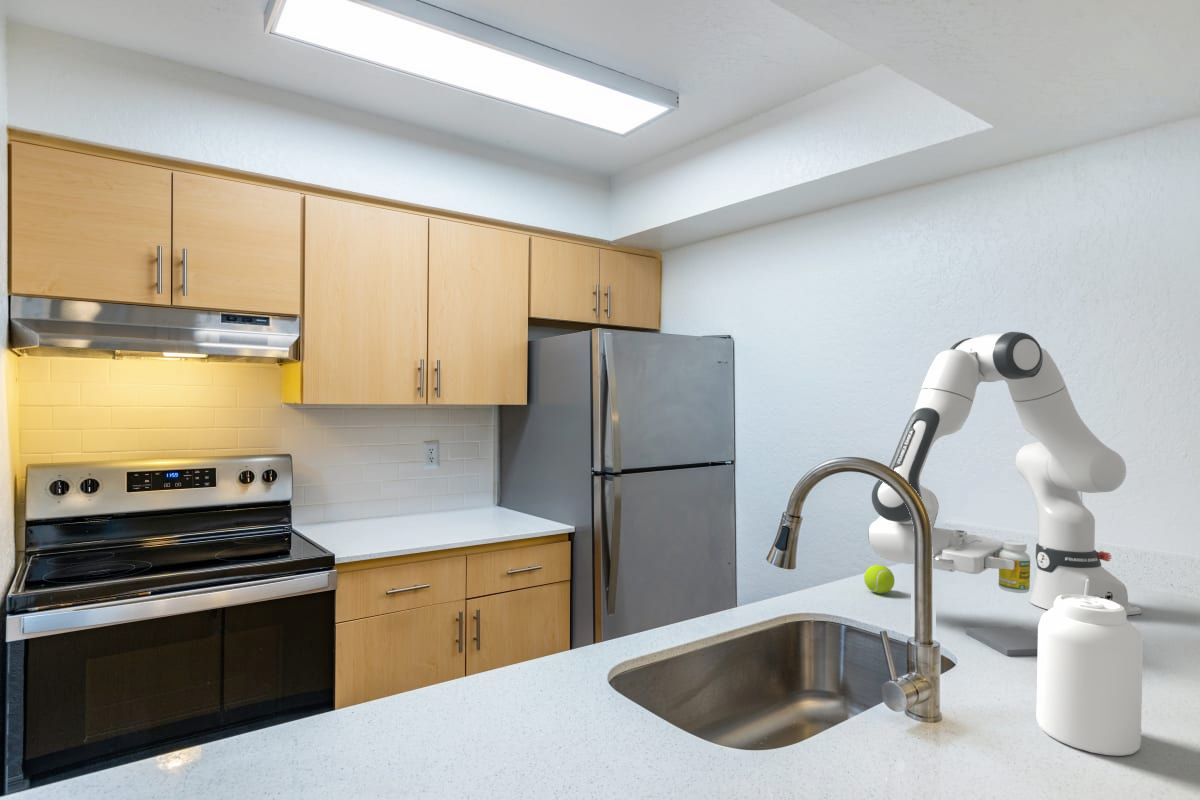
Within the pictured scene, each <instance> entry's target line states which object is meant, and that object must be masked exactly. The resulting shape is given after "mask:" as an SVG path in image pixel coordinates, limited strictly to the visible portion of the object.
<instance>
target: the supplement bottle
mask: <svg viewBox="0 0 1200 800" xmlns="http://www.w3.org/2000/svg"><path fill="white" fill-rule="evenodd" d="M1002 542H1003V547H1004V549H1005V550H1003V551H1001V552H1000V554H999V558H1001V559H1012V560H1015V561H1016V568H1015V569H1013V570H1009V569H998V587H999V589H1001V590H1003V591H1005V592H1011V593H1014V594H1015V593H1016V594H1026V593H1028V592H1029V591H1030V589H1031V587H1030V584H1031V582H1030V581H1031V580H1030V579H1031V578H1030V577H1031V557H1030V555H1029V554H1028V553H1027V552H1026V551H1027V550H1028V548H1027V543H1026V542H1024V541H1019V540H1013V539H1012V540H1011V539H1009V540H1003V541H1002Z"/></svg>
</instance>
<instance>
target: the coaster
mask: <svg viewBox="0 0 1200 800" xmlns="http://www.w3.org/2000/svg"><path fill="white" fill-rule="evenodd" d="M965 628H966V629H965V634H966V635H968V636H969V637H972V638H973V639H975V640H977V641H979V642H980V643H983V644H984V645H986V646H988V647H990V648H991V649H993V650H995V651H997V652H999V653H1001V654H1002V655H1005V656H1006V657H1015V656H1019V657H1020V656H1037V655H1038V634H1036V633H1034V632H1032V631H1029V630H1028V629H1025V628H1024V627H1022V626H1019V625H1015V626H989V627H988V626H987V627H985V626H984V627H982V626H981V627H965Z"/></svg>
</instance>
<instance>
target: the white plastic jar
mask: <svg viewBox="0 0 1200 800" xmlns="http://www.w3.org/2000/svg"><path fill="white" fill-rule="evenodd" d="M1127 617H1128V615H1127V613H1126V611H1125V609H1124V607H1123V606H1121V605H1120V604H1117V603H1115V602H1113V601H1110V600H1107V599H1103V598H1099V597H1093V596H1087V595H1078V594H1067V595H1060V596H1057V598H1056V600H1055V601H1054V608H1051V609H1050V610H1048V609H1047V610H1046V611H1045V612H1043V613H1042V615H1041V616H1040V618H1039V619H1040V620H1039V623H1038V626H1037V635H1038V655H1036V656H1037V659H1036V660H1037V661H1036V662H1037V663H1036V670H1037V671H1036V709H1035V710H1036V712H1035V713H1036V715H1035V719H1036V721H1037V724H1038V725H1039V728H1040V729H1041V730H1042V731H1043V732H1044V733H1045V734H1046V735H1048V737H1051V738H1053V739H1054V740H1056V741H1058V742H1060V743H1062V744H1065V745H1067V746H1069V747H1073V748H1074V749H1078V750H1082V751H1086V752H1088V753H1095V754H1098V755H1099V754H1100V755H1104V756H1118V757H1119V756H1130V755H1133V754H1135V753H1137V752H1138V751H1139V750H1140V748H1141V745H1142V743H1141V742H1142V708H1143V707H1142V703H1143V701H1142V700H1143V664H1144V662H1143V659H1144V658H1143V656H1144V642H1143V639H1142V635H1141V632H1140V630H1138V629H1137V627H1135V626H1134V624H1132V623H1131V622H1130V621H1129V620H1128V619H1127Z"/></svg>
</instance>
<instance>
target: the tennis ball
mask: <svg viewBox="0 0 1200 800" xmlns="http://www.w3.org/2000/svg"><path fill="white" fill-rule="evenodd" d="M863 579H864V584H865V586H866V587H867V588H868V590H870V592H873V593H875V594H880V595H881V594H886V593H889V592H890V591H892V589H893V588H894V586H895V576H894V574H893V572H892V571H891V570H890V569H889V568H888V567H887V566H885V565H883V564H882V565H881V564H874V565H871V566H870V567H868V568H867V569H866V571H865V572H864V577H863Z"/></svg>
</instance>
